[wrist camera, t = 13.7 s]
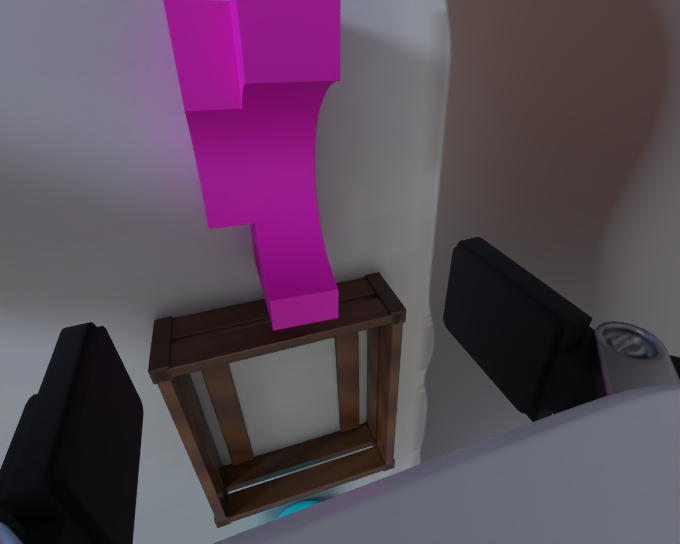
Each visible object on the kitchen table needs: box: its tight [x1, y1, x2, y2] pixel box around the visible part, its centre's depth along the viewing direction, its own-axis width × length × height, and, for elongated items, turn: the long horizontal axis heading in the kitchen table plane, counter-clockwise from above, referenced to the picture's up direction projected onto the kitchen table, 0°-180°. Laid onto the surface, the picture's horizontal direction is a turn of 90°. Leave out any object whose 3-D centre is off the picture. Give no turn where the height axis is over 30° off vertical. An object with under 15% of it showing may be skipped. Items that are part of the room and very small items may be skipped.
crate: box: [148, 273, 406, 528], centre depth 33 cm, size 20×17×5 cm
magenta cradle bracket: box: [163, 0, 340, 331], centre depth 21 cm, size 15×6×8 cm, turn 179°
